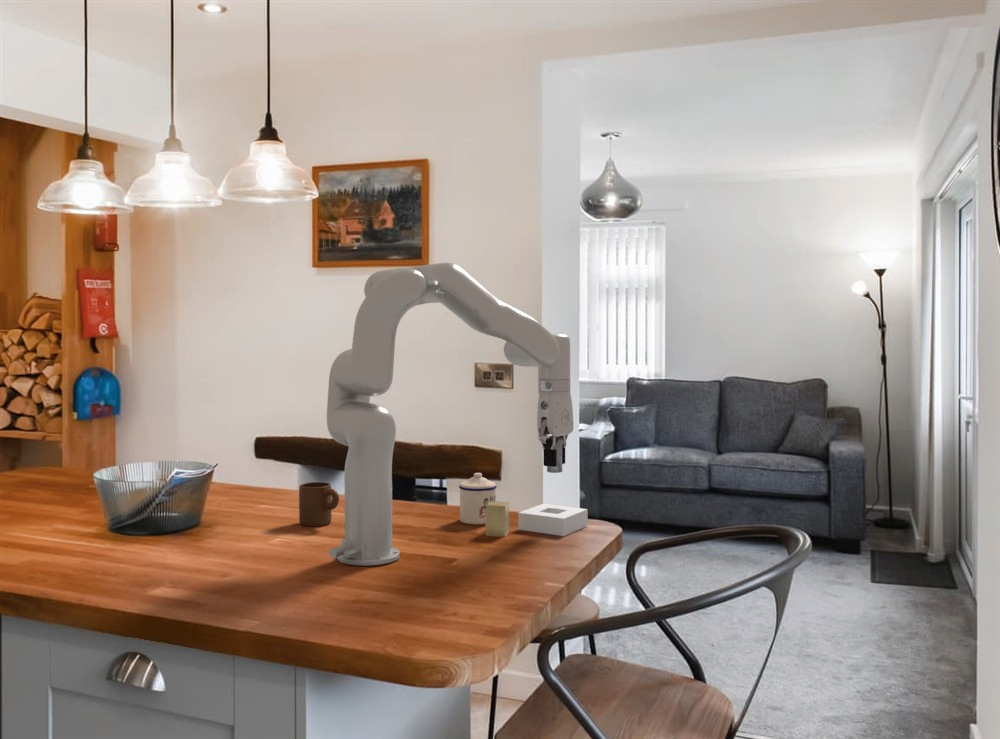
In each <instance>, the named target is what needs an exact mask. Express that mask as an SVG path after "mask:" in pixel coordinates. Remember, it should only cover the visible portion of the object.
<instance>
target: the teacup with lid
mask: <svg viewBox="0 0 1000 739" xmlns="http://www.w3.org/2000/svg"><path fill="white" fill-rule="evenodd" d="M458 488H459V520H460V522H461V523H464V524H467V525H475V526H476V525H479V526H481V525H486V504H487V503H489V502H490V501H496V497H497V496H496V492H497V491H496V489H497V484H496V483H495V481H492V480H489V479H487V478H485V477H483V474H482V472H475V473H473V476H472V477H470V478H469V479H466V480H464V481H462V482H460V483H459V486H458Z"/></svg>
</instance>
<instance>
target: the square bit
mask: <svg viewBox="0 0 1000 739" xmlns="http://www.w3.org/2000/svg"><path fill="white" fill-rule="evenodd" d="M509 533H510V502H509V501H490V502H489V503H487V504H486V524H485V537H486V536H487V537H488V536H489V537H504V538H505V537H506V536H507V535H508V534H509Z"/></svg>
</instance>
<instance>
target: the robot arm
mask: <svg viewBox="0 0 1000 739" xmlns="http://www.w3.org/2000/svg"><path fill="white" fill-rule="evenodd" d="M363 291H364V299H363V301H362V303H361V304H360V307H358V310H357V312H356V316H355V321H354V326H353V327H354V328H353V334H352V335H353V336H352V345H351V349H347V350H344V351H342V352H340V353H339V354H338V355H337V356H336V358H335V359H334V361H333V362H332V365H331V367H330V371H329V375H328V376H329V377H328V386H327V387H328V389H327V401H326V402H327V405H326V407H327V408H326V426H327V430H328V433H329V436H330V437H331V438H332V439H333V440H334V441H335V442H336V443H338V444H341V445H343V446H347V447H348V449H347V454H346V459H345V461H344V462H345V463H344V477H343V478H344V482H343V483H344V538H341V544H340V545H339V546H335V547H332V548H330V549H329V552H328V554H329V557H330V558H332V559H336V558H337V561H339V562H340V563H342V564H345V565H350V566H360V567H361V566H364V567H365V566H367V567H368V566H378V565H386V564H391V563H393V562H395V561H397V560H399V558H400V557H401V556H400V555H401V551H400V550H399V549H398V548H396V547H393V475H392V474H393V472H392V471H393V454H394V448H395V442H396V436H397V435H396V433H397V427H396V426H397V425H396V422H395V419H394V417H393V415H392V414H391V412H390V411H389V410H388V409H386V408H385V407H383V406H381V405H379V404H377V403H373V402H372V403H371V397H379V396H383V395H384V394H386V393H387V392H388V391H389V390H390V388H391V387H392V384H393V377H394V364H395V347H396V336H397V331H398V326H399V324H400V322H401V320H402V318H403V317H404V316H405V314H406V313H407V312H409V310H410V309H412V308H414V307H416V306H420V305H425V304H436V303H437V304H438V303H440V304H442V305H443V306H444V307H445V308H446V309H447V310H449V311H451V312H452V313H453V314H454V315H456V316H457V317H458V318H459V319H460V320H461V321H463V323H465V324H467V326H469V327H470V328H471V329H472V330H474V331H476V332H479V333H481V334H484V335H486V336H489V337H493V338H497V339H501V340H503V341H505V343H504V346H503V353H504V357H505V358H506V360H507V361H508V362H509V363H511V364H512V365H515V366H519V367H529V368H530V367H531V368H532V367H533V368H534V367H535V368H537V379H538V380H537V381H538V382H537V384H538V385H537V393H538V394H539V395H538V402H537V413H536V414H537V417H536V419H537V420H536V428H537V433H538V437H537V439H538V440H539V442H540V443H541V444H542V446H541V448H542V449H543V466H544V467H547V466H551V467H555V466H557V449H555V441H556V437H562V465H565V464H566V447H567V440H568V436H569V435H570V434H572V433H573V431H574V411H573V401H572V395H571V339H570V337H569V335H567V334H564V333H552V332H550V331H549V330H548V329H546V327H544V326H543V325H542V324H541V323H540V322H539V321H537V320H536V319H535V318H533V317H531V316H530V315H528V314H526V313H524V312H522V311H521V310H519V309H517V308H515V307H513V306H511V305H509V304H508V303H505V302H503V301H502V300H499V298H497V297H496V296H494V295H493V294H492V293H491V292H489V290H487V289H486V288H485V287H483V285H482V284H480V283H479V282H478V281H477V280H476V279H475V278H474V277H472V276H471V275H470V274H469V273H468V272H467V271H465V270H464V269H463V268H462V267H460V266H459V265H458V264H456V263H452V262H440V263H431V264H423V265H419V266H413V267H398V268H391V269H385V270H378V271H376V272H374V273H372V274H371V275H370V276H369V277H368V278H367V280H366V281H365V284H364V289H363ZM547 438H551V441H550V439H547Z"/></svg>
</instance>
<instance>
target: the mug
mask: <svg viewBox="0 0 1000 739" xmlns="http://www.w3.org/2000/svg"><path fill="white" fill-rule="evenodd" d="M298 488H299V491H298V506H299V507H298V510H299V511H298V513H299V515H298V516H299V517H298V519H299V524H300V525H301V526H304V527H309V528H310V527H312V528H313V527H324V526H327V525H330V524H331V523H332V517H333V516H332V510H335V509H336V508H337V507H338V505H339V502H340V496H339V492H338V491H337V490H336V489H334V488H332V484H331V483H329V482H324V481H323V482H321V481H319V482H318V481H316V482H315V481H313V482H305V483H301V484H299V487H298Z"/></svg>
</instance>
